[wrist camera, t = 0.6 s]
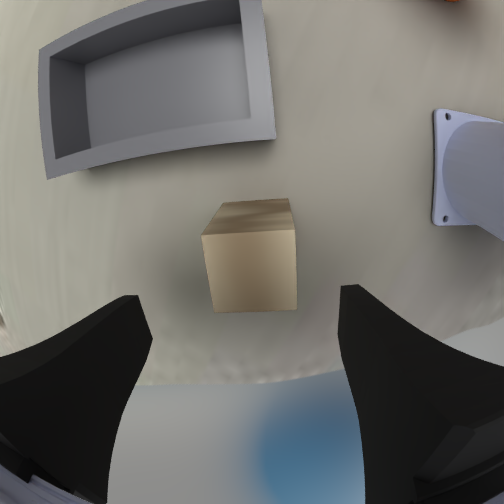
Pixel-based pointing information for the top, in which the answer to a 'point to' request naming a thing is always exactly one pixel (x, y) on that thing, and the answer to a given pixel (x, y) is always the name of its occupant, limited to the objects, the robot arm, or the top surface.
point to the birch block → (251, 257)
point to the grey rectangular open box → (155, 83)
